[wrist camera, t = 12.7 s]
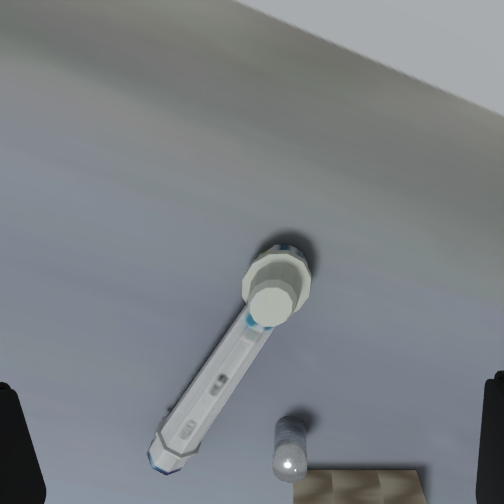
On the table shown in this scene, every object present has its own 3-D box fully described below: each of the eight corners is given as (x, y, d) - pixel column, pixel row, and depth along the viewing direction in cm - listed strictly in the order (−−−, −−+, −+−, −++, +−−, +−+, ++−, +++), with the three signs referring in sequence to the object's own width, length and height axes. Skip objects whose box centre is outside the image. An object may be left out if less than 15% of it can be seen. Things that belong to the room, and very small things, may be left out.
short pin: (305, 416, 42) (306, 455, 38) (306, 441, 43) (307, 482, 39) (274, 416, 43) (271, 455, 38) (276, 441, 44) (273, 482, 39)
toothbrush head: (133, 462, 42) (258, 265, 30) (158, 409, 48) (270, 228, 36) (182, 487, 42) (323, 301, 31) (201, 431, 48) (325, 259, 37)
